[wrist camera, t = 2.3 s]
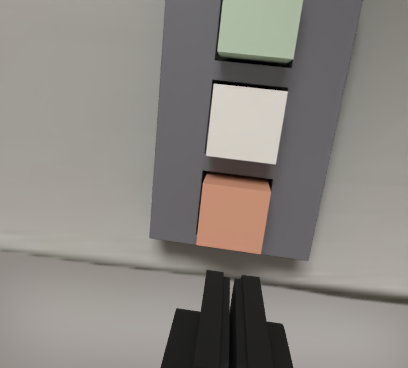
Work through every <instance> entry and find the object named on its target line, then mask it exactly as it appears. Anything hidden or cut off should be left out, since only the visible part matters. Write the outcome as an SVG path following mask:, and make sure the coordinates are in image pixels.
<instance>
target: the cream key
mask: <svg viewBox="0 0 408 368" xmlns="http://www.w3.org/2000/svg"><path fill="white" fill-rule="evenodd" d="M287 94H288V92H287V91H278V90H269V89H260V88H250V87H241V86H232V85H223V84H214V86H213V95H212V104H211V113H210V123H209V132H208V141H207V150H206V156H212V157H220V158H228V159H236V160H244V161H252V162H260V163H268V164H276V160H277V154H278V148H279V142H280V136H281V130H282V124H283V118H284V112H285V106H286V100H287Z"/></svg>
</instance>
